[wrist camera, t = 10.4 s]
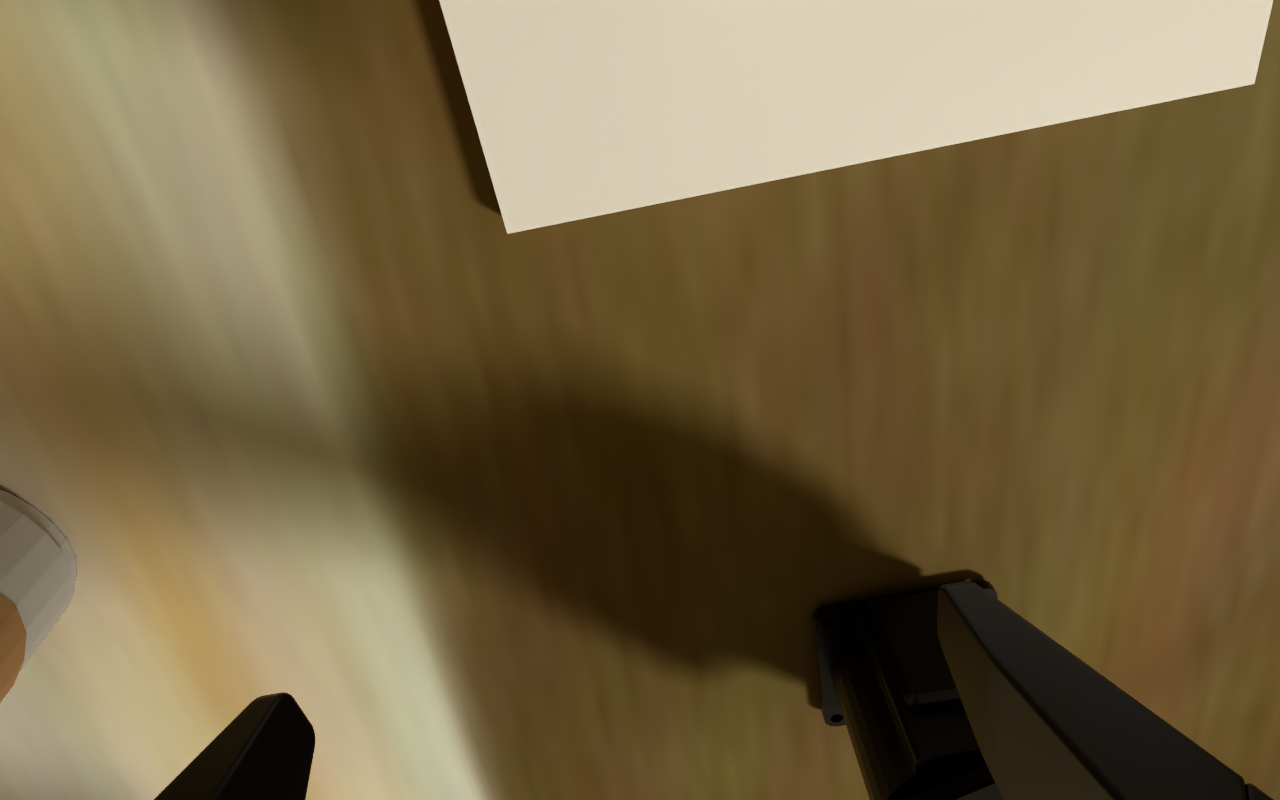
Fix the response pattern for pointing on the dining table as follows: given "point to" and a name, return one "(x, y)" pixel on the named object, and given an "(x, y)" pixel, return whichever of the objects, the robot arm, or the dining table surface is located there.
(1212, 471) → the dining table surface
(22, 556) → the coffee cup
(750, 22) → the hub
